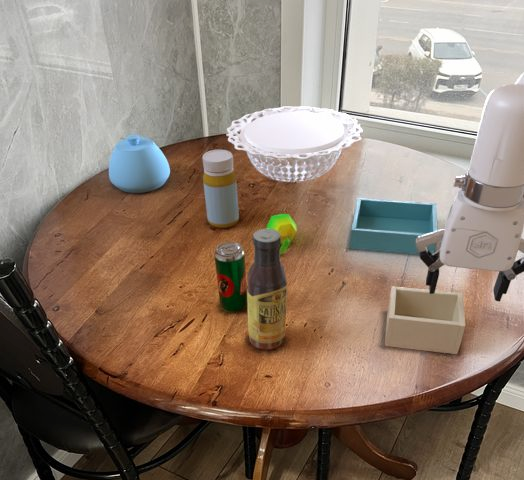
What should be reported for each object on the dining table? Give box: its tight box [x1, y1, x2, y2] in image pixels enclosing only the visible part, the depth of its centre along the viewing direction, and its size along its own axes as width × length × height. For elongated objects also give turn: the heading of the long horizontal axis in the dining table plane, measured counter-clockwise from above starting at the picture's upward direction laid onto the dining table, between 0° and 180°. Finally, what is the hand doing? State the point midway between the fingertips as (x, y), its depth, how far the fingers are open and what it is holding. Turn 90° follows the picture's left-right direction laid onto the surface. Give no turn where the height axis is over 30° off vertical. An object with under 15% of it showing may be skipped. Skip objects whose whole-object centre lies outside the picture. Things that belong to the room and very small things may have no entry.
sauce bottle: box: [246, 228, 288, 351], centre depth 84 cm, size 7×6×20 cm
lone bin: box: [384, 286, 467, 355], centre depth 89 cm, size 12×8×6 cm
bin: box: [349, 197, 438, 256], centre depth 112 cm, size 17×14×4 cm
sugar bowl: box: [108, 133, 171, 194], centre depth 133 cm, size 15×15×12 cm
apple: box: [266, 213, 298, 256], centre depth 111 cm, size 7×6×9 cm
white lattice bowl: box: [225, 105, 364, 183], centre depth 130 cm, size 32×32×13 cm
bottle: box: [202, 149, 240, 229], centre depth 115 cm, size 7×7×15 cm
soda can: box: [213, 241, 248, 313], centre depth 94 cm, size 5×5×12 cm
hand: (463, 292), depth 83 cm, fingers open, 9 cm apart
